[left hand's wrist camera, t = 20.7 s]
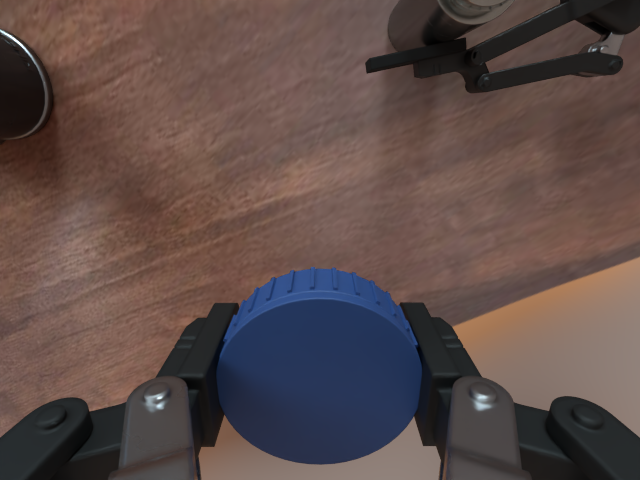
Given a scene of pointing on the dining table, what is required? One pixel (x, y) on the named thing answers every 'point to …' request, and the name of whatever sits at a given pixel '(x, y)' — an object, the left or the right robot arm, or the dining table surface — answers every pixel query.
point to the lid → (319, 368)
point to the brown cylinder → (439, 20)
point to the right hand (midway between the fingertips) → (362, 23)
